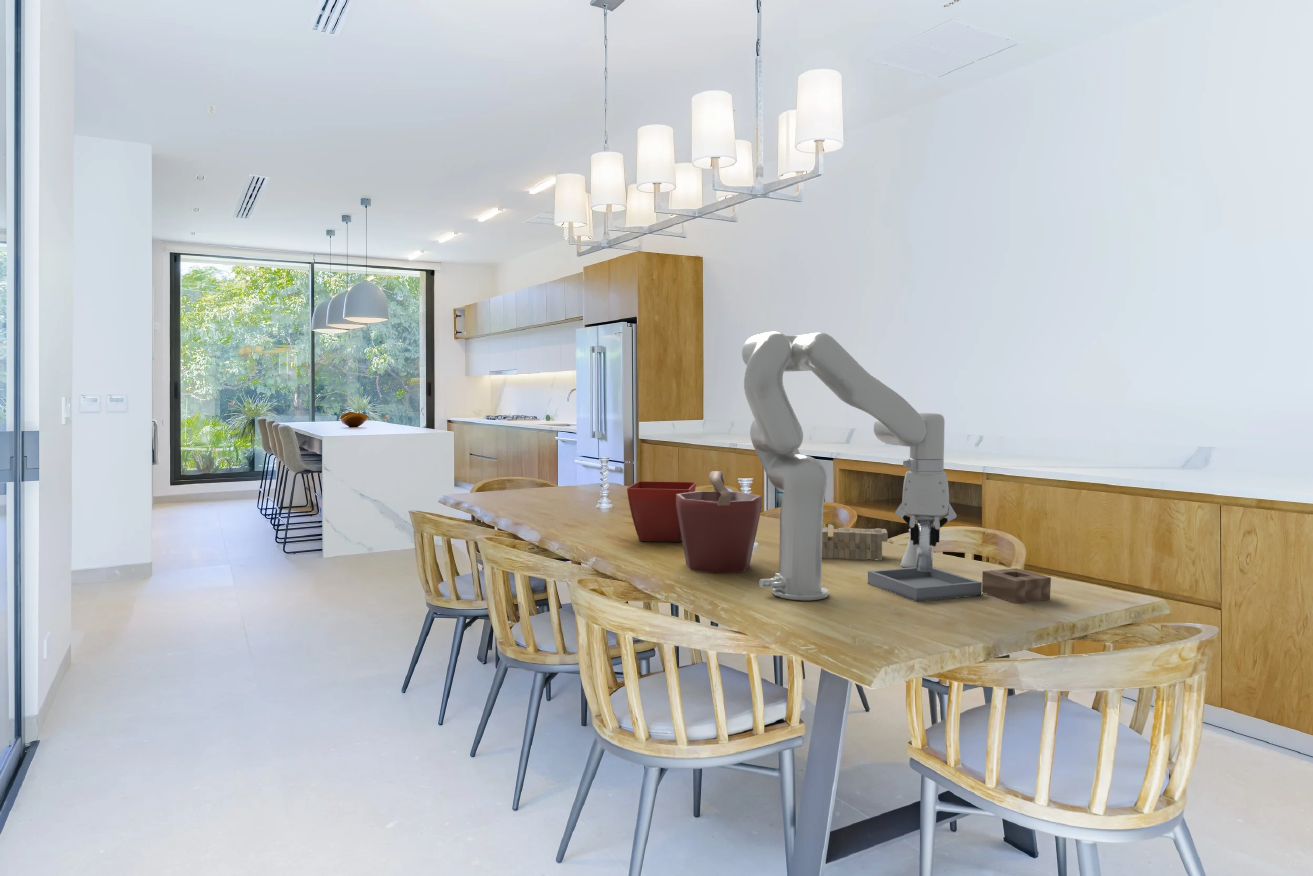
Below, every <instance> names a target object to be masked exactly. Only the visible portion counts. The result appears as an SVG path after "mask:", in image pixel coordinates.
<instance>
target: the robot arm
mask: <svg viewBox="0 0 1313 876" xmlns="http://www.w3.org/2000/svg"><path fill="white" fill-rule="evenodd" d="M741 358H742V361H743V362H744V364H745V365H746V368H745V373H744V379H743V388H744V389H743V390H744V394H745V398H746V400H747V403H748V406H749V408H750V410H751V413H752V416H753V418H754V419H753V421H751V425H750V430H749V431H750V432H749V434H750V440H751V443H752V446H753V448H754V451H755V452H756V455H757V457H758V459H759V461H760V463H761V466H762V468H763V470H764V472H765V474H766V476H767V478H768V480H769V481H770V484H771V485H773V487H774V488H776V489H777V490H778V491H781V492H782V493H783V494H782V500H781V505H780V514H779V556H778V557H779V559H778V560H779V563H778V565H779V567H778V572H774V576H772V577H771V578H760V579H759V582H758V584H759V588H761V589H762V588H770V589H771V593H772V594H773V595H774V596H775V597H779V598H781V599H785V600H792V601H819V600H823V599H825V598H827V597H828V596H829V590H828V589H827V588H826V587H825V586H823V585H822V572H823V570H822V566H823V564H822V563H823V562H822V561H823V558H822V528H823V527H824V525H823V524H824V523H823V522H824V521H823V520H824V519H823V518H824V505H825V497H826V493H827V486H828V477H827V472H826V470H825V467H824V466H823V464H821V462H820V461H819V460H817V459H816V458H814V457H812V456H809V455H806V454H801V453H800V451H799V448H800V447H801V445H802V444H803V442H804V441H803V440H804V431H803V429H802V425H801V424H800V421H799V419H798V417H797V415H796V413H795V411H794V409H793V406H792V404H791V402H790V400H789V398H788V396H787V393H786V390H785V386H784V381H783V379H784V378H783V377H784V372H787V373H788V372H808V371H809V372H810V371H811V372H812V373H813V374H814V375H815V376H816V377H817V378H818V379H819V380H820V381H821V382H823V383H824V385H825V386H826V387H827V388H828V389H830V390H831V392H833V394H834V395H835V396H836V397H838V399H839V400H841V401H842V402H844V403H845V404H847V405H849V406H851V407H852V408H855V409H858V410H860V411H863V412H864V413H866V414H869V415H870V416H872V417H873V418H875V419H876V420H875V422H874V424H873V433H874V435H875V436H876V438H877V439H878V440H879V441H880V442H881V443H884V444H886V445H891V446H892V445H893V446H899V447H900V446H902V447H908V448H909V458H908V460H907V459H906V460H903V461H902V466H903V467H906V468H908V470H907V471H906V472H905V475H904V480H903V487H902V498H901V499H902V501H901V503H900V504H899V506H898V507H897V509H896V510H895V511H894V514H895V515H896V516H898V517H899V518H901V519H902V520H903V521H904V522H905V523H906V524H907V525H908V526H909V527H910V529H911V540H912V541H913V545H916V544H917V520H915V515H919V516H935V521H933V530H932V546H933V547H936V546H937V543H940V530H941V528H943V526H944V525H946V524H947V523H949V522H950V521H951V522H952V521H953V520H955V519H956V518H957V514H956V512H955V510H954V509H953V507H952V506H951V503H950V492H949V489H950V488H949V482H948V481H949V480H948V476H947V475H948V474H947V472H945V471H944V469H945V468H944V465H945V463H944V462H945V455H944V454H945V423H946V422H945V418H944V415H942V414H940V413H933V412H931V413H929V412H926V413H925V412H924V413H923V412H921V413H919V412H918V411H917V410H916V409H915V408H914V407H913V406H912V405H911V404H910V403H909V402H908V401H907V400H906V399H905V398H904V397H903V396H901V394H899V393H898V392H896V391H895V390H894V389H892V388H891V387H889V386H887V385H886V384H885V383H883V382H882V381H881V380H879V379H877V378H876V377H874V376H873V375H872V374H871V373H869V372H868V371H867V369H865V368H864V367H863V366H862V365H861V364H860V363H859V362H858V361H857V360H856V359H855V358H854V357H853V356H852V355H851V354H850V353H849V352H848V351H847V350H846V349H845V348H844V347H843V346H842V345H841V344H840V343H839V342H838V341H837V340H836V339H835V338H834V337H832V336H831V335H830V334H828V333H825V332H812V333H807V334H801V335H785V334H783V333H782V332H779V331H767V332H763V333H760V334H759V333H758V334H755V335H753V336H751V337H749V338H748V339H747V340H745V342H744V344H743V346H742V349H741ZM941 517H942V518H941Z"/></svg>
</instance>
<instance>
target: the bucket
mask: <svg viewBox="0 0 1313 876" xmlns="http://www.w3.org/2000/svg"><path fill="white" fill-rule="evenodd" d="M708 477H709V482H710V483H711V485H712V487H713V490H698V491H695V492H688V493H680V494H676V508H677V514H678V520H679V525H680V531H681V537H682V540H681V541H682V548H683V552H684V553H683V554H684V559H685V564H686V566H687V567H688V568H689V569H690V571H696V572H701V573H702V572H703V573H710V574H716V575H717V574H718V575H719V574H729V573H740V572H741V573H744V572H745V571H746V570H747V569H748V568H750V566H751V560H752V557H753V556H752V555H753V550H754V548H755V547H754V545H755V541H756V536H757V531H758V527H759V522H760V518H761V512H762V508H763V504H762V503H763V495H758V494H753V493H749V492H747V493H746V492H742V491H741V492H740V491H729V489H728V488H727V487H726V486H725V478H724V474H723V471H721V470H718V471H716V470H715V471H714V470H712V471H710V473H709V476H708Z"/></svg>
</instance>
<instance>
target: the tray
mask: <svg viewBox="0 0 1313 876" xmlns="http://www.w3.org/2000/svg"><path fill="white" fill-rule="evenodd" d="M868 583H870V584H871V586H873V585H874V587H876V586H877V587H876V588H878V587H880V588H879V589H881V588H882V589H881V590H884V589H885V591H886V590H888V591H887V592H889V591H891V592H893V593H892V594H894V593H896V594H895V595H897V596H899V595H900V596H899V597H902V596H903V597H902V598H905V599H907V598H908V599H907V600H910V599H911V600H910V601H912V600H914V601H913V602H915V601H920V602H927V601H926V600H930V601H937V600H936V599H940V600H948V599H947V598H950V599H955V598H956V597H960V598H966V597H965V596H970V597H977V595H980V596H982V581H979V580H975V579H972V578H968V577H966V576H963V575H960V574H959V575H958V574H956V573H953V572H949V571H947V570H942V569H940V568H936V567H934V566H933V569H932V571H931V572H921V571H917V570H916V567H912V568H904V567H902V568H891V569H877V570H868V571H867V584H868ZM870 584H869V585H870ZM891 592H890V593H891ZM956 599H957V598H956Z"/></svg>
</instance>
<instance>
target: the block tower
mask: <svg viewBox="0 0 1313 876" xmlns="http://www.w3.org/2000/svg"><path fill="white" fill-rule="evenodd" d="M832 530H833V531H832V533H833V534H832V535H831V536H830V535H829V528H828V527H827V526H826V527H824V526H823V528H822V559H834V558H850V559H849V560H856V559H878V560H877V561H879V560H882V561H883V543H884V542H885V543H887V542H888V538H889V537H888V531H887V529H886V528H877V527H876V528H859V527H857V528H854V527H850V528H849V527H838V528H833V529H832Z"/></svg>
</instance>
